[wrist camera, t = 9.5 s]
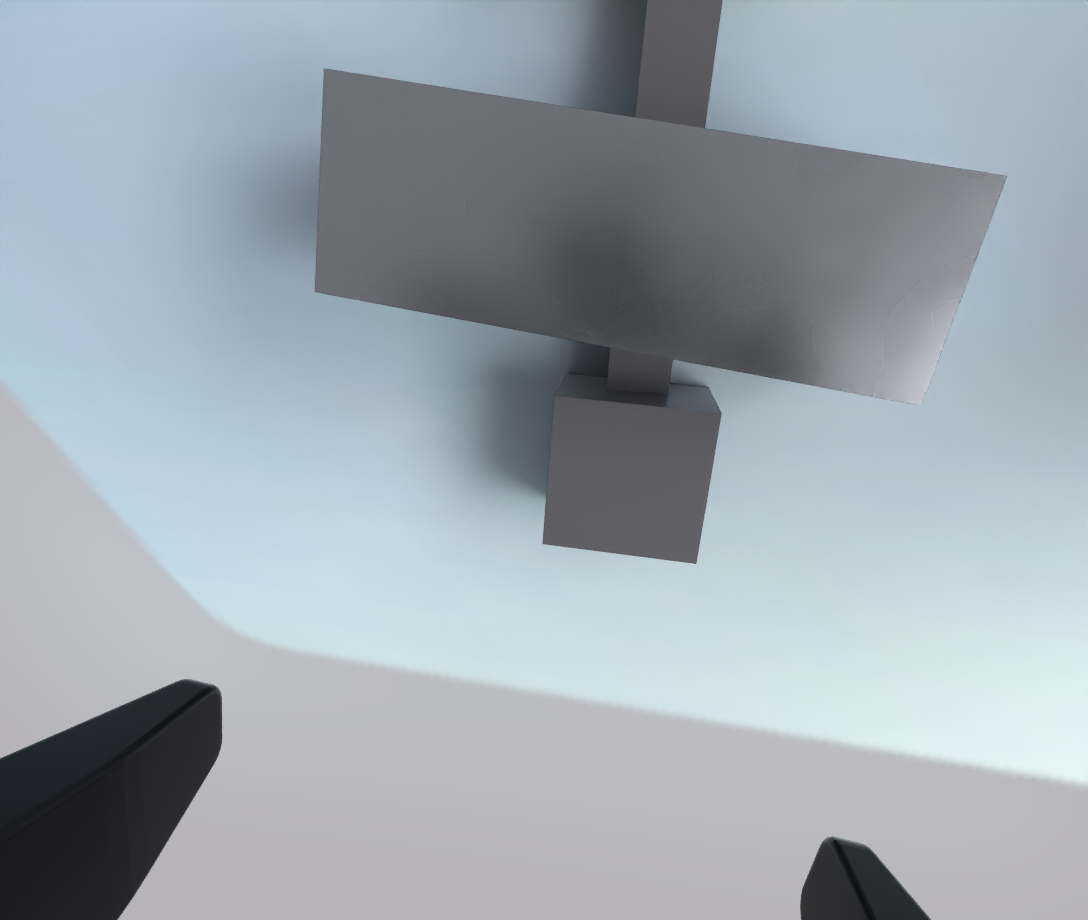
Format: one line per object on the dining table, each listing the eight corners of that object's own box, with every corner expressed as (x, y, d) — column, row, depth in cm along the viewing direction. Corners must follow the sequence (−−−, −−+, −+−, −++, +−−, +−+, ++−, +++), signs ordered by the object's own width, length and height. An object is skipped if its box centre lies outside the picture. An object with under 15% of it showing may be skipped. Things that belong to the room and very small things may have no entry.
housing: (887, 199, 16) (1007, 175, 11) (836, 357, 17) (920, 405, 12) (421, 123, 17) (323, 68, 12) (408, 279, 18) (315, 291, 13)
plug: (802, -207, 14) (845, -326, 11) (688, 517, 19) (696, 563, 16) (616, -207, 14) (610, -320, 11) (556, 501, 20) (542, 543, 17)
